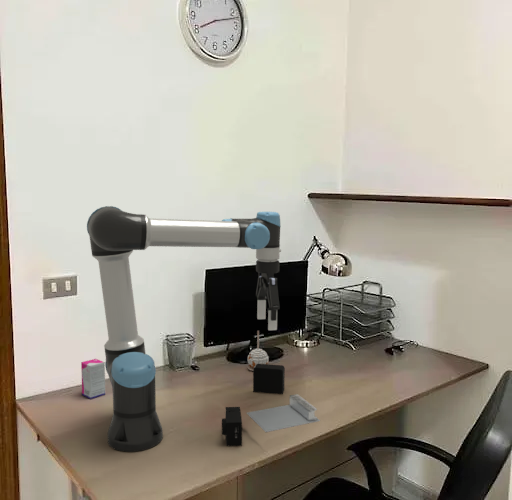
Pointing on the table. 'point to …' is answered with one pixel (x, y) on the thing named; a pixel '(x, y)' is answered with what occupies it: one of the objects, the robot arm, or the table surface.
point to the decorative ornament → (257, 356)
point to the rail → (303, 407)
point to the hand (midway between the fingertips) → (266, 324)
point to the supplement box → (93, 378)
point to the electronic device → (268, 378)
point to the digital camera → (232, 426)
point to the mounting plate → (278, 418)
